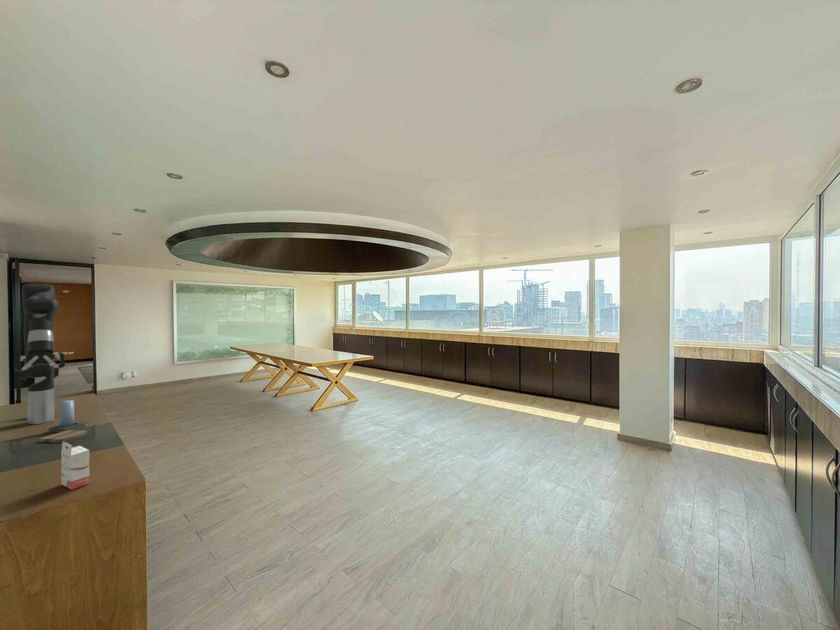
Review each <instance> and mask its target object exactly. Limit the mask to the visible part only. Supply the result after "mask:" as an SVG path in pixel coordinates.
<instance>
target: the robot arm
mask: <svg viewBox="0 0 840 630" xmlns="http://www.w3.org/2000/svg"><path fill="white" fill-rule="evenodd" d="M21 297H22V299H21V300H22V308H23V342H24V355H20V354H19V355H16V357H15V364H14V371H18V372H20V373H21V376H20V378H21V380H23V381H27V379H34V378H44V379H43V380H40V381H38V382H35V383H33V384H30V385H29V386H28V387H27V388H28V389H27V392H28V398H27V399H28V403H27V405H26V423H27V424H29V425H39V424H40V425H41V424H46V423H50V422H54V421H55V381H54V379H57V377H59V375H60V373H59V372H60V369H61V368H65V365H66V364H65V353H64V352H63V353H62V352H61V353H58V354H57V353H56V354H55V353H54V351H55V349H54V347H55V346H54V344H55V342H54V341H55V339H54V320H55V317H56V315H57V312H58V311H59V307H60V304H59V302H58V301H57V300H56V298H55V297H56V290H55V287H54V286H53V285H52V284H45V283H44V284H42V283H40V284H39V283H38V284H37V283H25V284H23V285H22V288H21ZM42 315H44V316H42ZM55 358H56V359H57V360H59V364H57V363H56V362H55V361H54V359H55ZM21 362H23V367H21V366H20V365H21Z"/></svg>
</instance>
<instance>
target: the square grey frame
mask: <svg viewBox="0 0 840 630" xmlns="http://www.w3.org/2000/svg"><path fill="white" fill-rule="evenodd" d="M82 426H86V422H85V421H84V422H83V421H81V422H80V421H79V422H77V421H76V422H75V421H74V425H73V426H70V427H67V428H60V424H57V425H54V426H51V427H48V433H59V432H62V431H65V430H73V429H75V430H77V429H76V428H78V429H80V428H79V427H82ZM82 428H83V427H82Z"/></svg>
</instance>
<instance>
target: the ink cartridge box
mask: <svg viewBox="0 0 840 630" xmlns="http://www.w3.org/2000/svg"><path fill="white" fill-rule="evenodd" d="M66 447H67V448H66ZM60 453H61V456H60V457H61V458H60V460H61V485H62V486H64V487H66V488H67V489H69V490H71V491H72V490H74V489H77V488H81V487H84V486H87V485H90V481H91V480H90V450H89V449H88V448H85V447H84V446H81V445H77V446H72V444H69V443H68V442H66V441H65V442H62V444H61V452H60Z"/></svg>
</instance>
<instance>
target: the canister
mask: <svg viewBox="0 0 840 630" xmlns="http://www.w3.org/2000/svg"><path fill="white" fill-rule="evenodd" d="M74 422H75V400H74V399H68V400H62V401H59V425H60V428H67V427H70V426H73V425H74Z"/></svg>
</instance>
